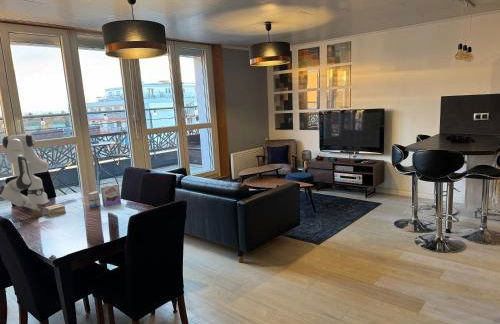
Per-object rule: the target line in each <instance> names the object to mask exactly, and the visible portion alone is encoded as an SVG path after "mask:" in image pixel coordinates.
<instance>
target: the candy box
mask: <svg viewBox="0 0 500 324" xmlns="http://www.w3.org/2000/svg"><path fill="white" fill-rule="evenodd" d="M100 191H101V193H100V194H101V199H102V206H103V207H109V206H115V205H119V204H122V201H121V200H122V199H121V191H120V185H119V184H118V183H116V184H115V183H114V184H109V185H100Z"/></svg>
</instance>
